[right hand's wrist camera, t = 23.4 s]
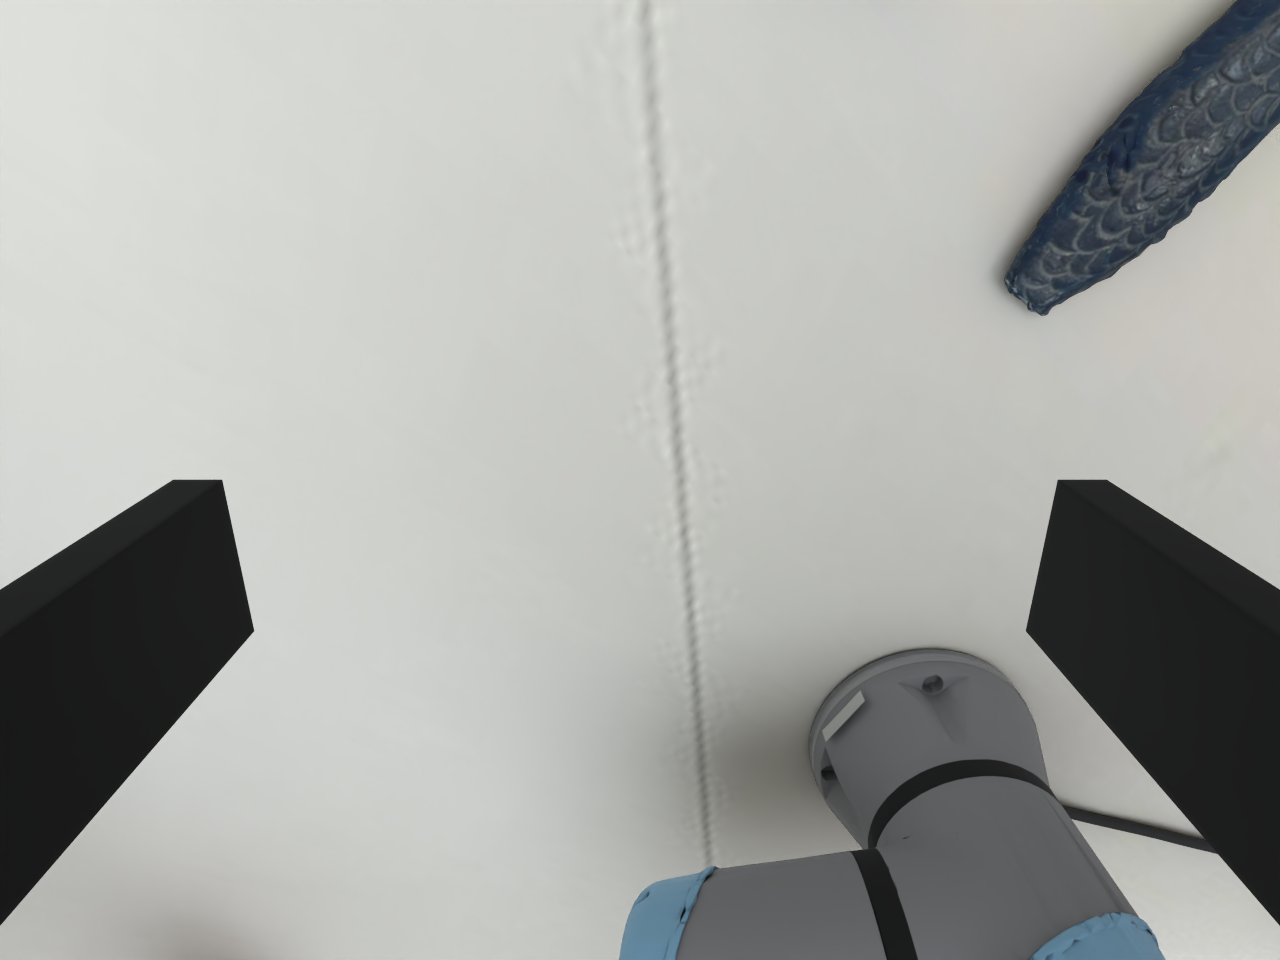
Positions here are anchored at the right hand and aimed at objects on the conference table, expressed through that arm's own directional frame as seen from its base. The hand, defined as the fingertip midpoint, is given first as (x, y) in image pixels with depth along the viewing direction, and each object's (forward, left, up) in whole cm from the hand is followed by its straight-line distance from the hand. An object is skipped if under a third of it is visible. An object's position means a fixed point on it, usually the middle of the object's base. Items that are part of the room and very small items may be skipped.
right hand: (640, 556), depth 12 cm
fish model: (-16, -23, -33) cm, 44 cm away
